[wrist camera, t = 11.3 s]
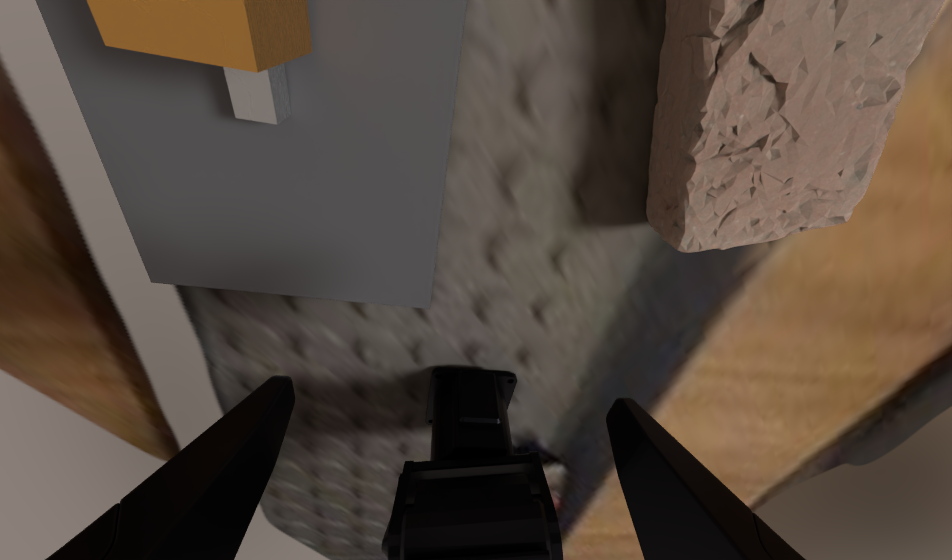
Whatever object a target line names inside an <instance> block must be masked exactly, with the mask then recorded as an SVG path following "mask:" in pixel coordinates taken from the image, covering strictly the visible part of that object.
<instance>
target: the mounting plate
mask: <svg viewBox="0 0 952 560" xmlns="http://www.w3.org/2000/svg"><path fill="white" fill-rule="evenodd" d="M36 2H37V5H38V7H39V10H40V12H41V14H42V17H43V19H44V21H45V24H46V27H47V29H48V32H49V34H50V36H51V39H52V41H53V44H54V46H55V49H56V51H57V53H58V56H59V58H60V61H61V63H62V65H63V68H64V70H65V73H66V75H67V78H68V80H69V83H70V85H71V88H72V90H73V93H74V95H75V97H76V100H77V102H78V105H79V107H80V109H81V112H82V114H83V117H84V119H85V122H86V124H87V127H88V129H89V132H90V134H91V136H92V139H93V141H94V144H95V146H96V149H97V151H98V153H99V156H100V158H101V161H102V163H103V166H104V168H105V170H106V173H107V175H108V178H109V180H110V183H111V185H112V187H113V190H114V192H115V195H116V197H117V200H118V202H119V205H120V207H121V209H122V212H123V214H124V217H125V219H126V222H127V224H128V226H129V229H130V231H131V234H132V236H133V239H134V241H135V244H136V246H137V248H138V251H139V253H140V256H141V258H142V261H143V263H144V266H145V268H146V270H147V273H148V275H149V278H150V280H151V282H153V283H163V284H174V285H184V286H195V287H205V288H216V289H226V290H236V291H247V292H257V293H268V294H278V295H289V296H299V297H310V298H320V299H331V300H341V301H352V302H362V303H373V304H383V305H394V306H404V307H415V308H425V309H430V303H431V294H432V286H433V278H434V269H435V261H436V253H437V245H438V236H439V228H440V220H441V211H442V203H443V195H444V186H445V178H446V170H447V161H448V153H449V145H450V136H451V128H452V120H453V111H454V103H455V95H456V87H457V78H458V70H459V62H460V53H461V45H462V37H463V28H464V20H465V12H466V3H467V0H307V4H308V14H309V23H310V33H311V43H312V53H309V54H306V55H304V56H301V57H298V58H296V59H293V60H290V61H288V62H285V63H284V67H285V74H286V81H287V87H288V94H289V101H290V107H291V114H292V115H290V116H289V117H287V118H286V119H284V120H283V121H282V122H280V123H279V124H270V123H264V122H258V121H252V120H245V119H239V118H236V117H235V113H234V109H233V105H232V101H231V97H230V93H229V89H228V85H227V81H226V77H225V73H224V69H223V67H222V66H217V65H211V64H205V63H200V62H194V61H189V60H183V59H177V58H172V57H166V56H161V55H155V54H149V53H144V52H138V51H133V50H127V49H121V48H116V47H110V46H105V43H104V41H103V39H102V36H101V34H100V31H99V29H98V27H97V24H96V22H95V19H94V17H93V15H92V12H91V10H90V7H89V5H88V3H87V0H36Z"/></svg>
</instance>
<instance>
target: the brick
mask: <svg viewBox="0 0 952 560" xmlns="http://www.w3.org/2000/svg"><path fill="white" fill-rule="evenodd" d="M944 2H945V0H666V14H665V21H666V31H665V36H664V42H663V45H662V48H661V52H660V66H659V77H658V85H657V95H658V103H657V104H656V106H655V112H654V121H653V131H652V133H653V137H652V142H651V155H650V163H649V184H648V196H647V201H646V204H647V209H646V214H647V218H648V221H649V223H650V225H651V227H653V229H654V230H655V231H656V232H658V233H659V234H660V235H661V237H662V239H663V240H664V241H666V242H668V243H669V244H670V245H671V246H673V247H674V248H675V249H677V250H679V251H681V252H689V253H690V252H698V251H704V250H710V249H714V248H716V249H720V250H724V249H727V248H731V247H736V246H742V245H748V244H755V243H761V242H768V241H772V240H776V239H779V238H782V237H785V236H788V235H792V234H795V233H799V232H803V231H807V230H811V229H816V228H823V227H829V226H835V225H839V224H842V223H846V222H847V221H848V219H849V218H850V217H851V215H852V212H853V210H854V207H855V205H856V204H857V203H859V201H860V200H861V199H862V198H863V197H864V194H865V192H866V190H867V188H868V186H869V184H870V181H871V179H872V176H873V173H874V171H875V169H876V166H877V164H878V161H879V159H880V156H881V154H882V151H883V148H884V146H885V142H886V138H887V134H888V131H889V129H890V127H891V125H892V123H893V121H894V119H895V110H896V107H897V105H898V103H899V101H900V99H901V97H902V93H903V90H904V86H905V72H906V69H907V68H908V66H909V65H910V64H911V63H912V62H913V60H914V59H915V58H916V57H917V55H918V54H919V53H920V51H921V48H922V45H923V43H924V40H925V38H926V36H927V34H928V32H929V30H930V28H931V27H932V25H933V23H934V21H935V19H936V17H937V15H938V13H939V11H940V9H941V7H942V5H943V3H944Z"/></svg>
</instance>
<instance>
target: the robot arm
mask: <svg viewBox="0 0 952 560" xmlns="http://www.w3.org/2000/svg"><path fill="white" fill-rule="evenodd" d="M438 374H440V375H438ZM516 383H517V378H516V375H515V374H514V373H507V372H493V371H479V370H465V369H451V368H435V369H434V370H433V371H432V377H431V384H430V391H429V398H428V405H427V412H426V423H427V424H428V425H432V440H431V459H430V461H422V462H414V461H405V464H404V468H403V473H402V474H400V477H399V480H398V487H397V492H396V496H395V501H394V506H393V510H392V515H391V518H390V521H389V524H388V527H387V529H386V532H385V535H384V538H383V541H382V553H383V555H384V556H385V557H386V559H387V560H563V551H562V542H561V535H560V529H559V524H558V519H557V515H556V511H555V507H554V503H553V500H552V497H551V494H550V490H549V487H548V484H547V480H546V477H545V474H544V471H543V467H542V464H541V461H540V457H539V454H538V452H537V451H536V452H529V454H516V455H514V454H513V447H512V441H511V434H510V427H509V421H508V414H507V409H508V406H509V403H510V400H511V397H512V395H513V392H514V389H515V386H516ZM294 403H295V394H294V388H293V383H292V379H291V377H289V376H273V377H271V378H269V379H268V380H267V381H266V382H265V383H263V384H262V385H261V386H260V387H258V388H257V389H256V390H255V391H253V392H252V393H251V394H250V395H249V396H247V397H246V398H245V399H244V400H242V401H241V402H240V403H239V404H238V405H236V406H235V407H234V408H233V409H231V410H230V411H229V412H228V413H227V414H225V415H224V416H223V417H222V418H220V419H219V420H218V421H217V422H216V423H214V424H213V425H212V426H211V427H209V428H208V429H207V430H206V431H205V432H203V433H202V434H201V435H200V436H198V437H197V438H196V439H195V440H194V441H192V442H191V443H190V444H189V445H187V446H186V447H185V448H184V449H182V450H181V451H180V452H179V453H178V454H176V455H175V456H174V457H173V458H171V459H170V460H169V461H168V462H167V463H165V464H164V465H163V466H162V467H160V468H159V469H158V470H157V471H156V472H155V473H153V474H152V475H151V476H150V477H148V478H147V479H146V480H145V481H143V482H142V483H141V484H140V485H138V486H137V487H136V488H135V489H134V490H132V491H131V492H130V493H129V494H128V495H126V496H125V497H124V498H123V499H121V501H120V504H119V503H117V504H115V505H114V506H113V507H111V508H110V509H109V510H108V511H106V512H105V513H104V514H103V515H102V516H100V517H99V518H98V519H97V520H95V521H94V522H93V523H92V524H90V525H89V526H88V527H87V528H85V529H84V530H83V531H82V532H80V533H79V534H78V535H76V536H75V537H74V538H73V539H71V540H70V541H69V542H68V543H66V544H65V545H64V546H63V547H61V548H60V549H59V550H57V551H56V552H55V553H53V554H52V555H51V556H49V557H48V558H47V559H45V560H234V558H235V556H236V554H237V552H238V549H239V547H240V545H241V542H242V540H243V538H244V536H245V533H246V531H247V528H248V526H249V524H250V522H251V520H252V517H253V515H254V513H255V510H256V508H257V506H258V504H259V501H260V499H261V497H262V494H263V492H264V490H265V488H266V485H267V483H268V481H269V478H270V476H271V474H272V471H273V469H274V466H275V464H276V461H277V458H278V455H279V451H280V448H281V445H282V442H283V439H284V436H285V432H286V429H287V426H288V423H289V420H290V417H291V413H292V410H293V407H294ZM606 423H607V428H608V432H609V437H610V442H611V446H612V451H613V456H614V460H615V465H616V469H617V473H618V477H619V480H620V484H621V487H622V490H623V493H624V496H625V499H626V503H627V506H628V509H629V512H630V515H631V518H632V521H633V525H634V528H635V531H636V534H637V537H638V540H639V543H640V547H641V550H642V553H643V556H644V559H645V560H805V559H804V558H803V557H802V556H801V555H800V554H799V553H798V552H796V551H795V550H794V549H793V548H792V547H791V546H790V545H789V544H787V543H786V542H785V541H784V540H783V539H782V538H781V537H780V536H779V535H777V533H775V532H774V531H773V530H772V529H771V528H770V527H769V526H768V525H767V524H766V523H765V522H763V521H762V520H761V519H760V518H759V517H758V516H757V515H756V514H755V513H752V511H751V509H750V508H748V507H747V506H746V505H745V504H744V503H743V502H742V501H741V500H740V499H739V498H738V497H737V496H736V495H735V494H733V493H732V492H731V491H730V490H729V489H728V488H727V487H726V486H725V485H724V484H723V483H722V482H721V481H720V480H719V479H717V478H716V477H715V476H714V475H713V474H712V473H711V472H710V471H709V470H708V469H707V468H706V467H705V466H704V465H703V464H701V463H700V462H699V461H698V460H697V459H696V458H695V457H694V456H693V455H692V454H691V453H690V452H689V451H688V450H687V449H685V448H684V447H683V446H682V445H681V444H680V443H679V442H678V441H677V440H676V439H675V438H674V437H673V436H672V435H671V434H669V433H668V432H667V431H666V430H665V429H664V428H663V427H662V426H661V425H660V424H659V423H658V422H657V421H656V420H655V419H653V418H652V417H651V416H650V415H649V414H648V413H647V412H646V411H645V410H644V409H643V408H642V407H641V406H640V405H638V404H637V403H636V402H635V401H634V400H633V399H631V398H617V399H616V400H615V402H614V403H613V405H612V407H611V408H610V410H609V412H608V413H607V417H606Z"/></svg>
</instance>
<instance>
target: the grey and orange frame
mask: <svg viewBox="0 0 952 560" xmlns="http://www.w3.org/2000/svg"><path fill="white" fill-rule="evenodd" d="M87 3H88V5H89V7H90V10H91V12H92V15H93V17H94V19H95V22H96V24H97V27H98V29H99V31H100V34H101V36H102V39H103V41H104V43H105V46H110V47H116V48H121V49H127V50H133V51H138V52H144V53H149V54H155V55H161V56H166V57H172V58H177V59H183V60H189V61H194V62H200V63H205V64H211V65H217V66H222V67H223V69H224V73H225V77H226V81H227V85H228V89H229V93H230V97H231V101H232V105H233V109H234V113H235V117H236V118H239V119H245V120H252V121H258V122H264V123H270V124H279V123H280V122H282V121H283V120H284V119H286V118H287V117H289V116H290V115H292V114H291V107H290V101H289V94H288V87H287V81H286V74H285V67H284V63H285V62H288V61H290V60H293V59H296V58H298V57H301V56H304V55H306V54H309V53H312V43H311V33H310V23H309V14H308V4H307V0H87Z"/></svg>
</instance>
